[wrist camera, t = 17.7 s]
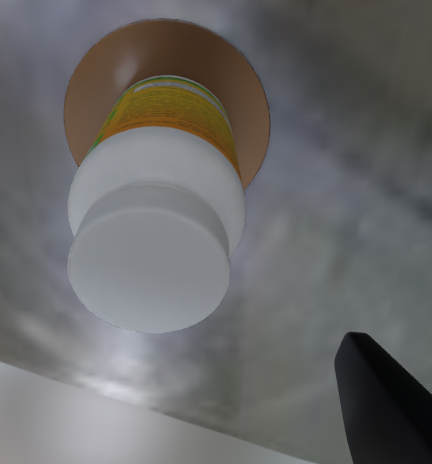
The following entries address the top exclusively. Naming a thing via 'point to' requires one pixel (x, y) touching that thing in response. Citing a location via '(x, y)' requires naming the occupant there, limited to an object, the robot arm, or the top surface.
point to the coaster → (168, 63)
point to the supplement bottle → (157, 209)
